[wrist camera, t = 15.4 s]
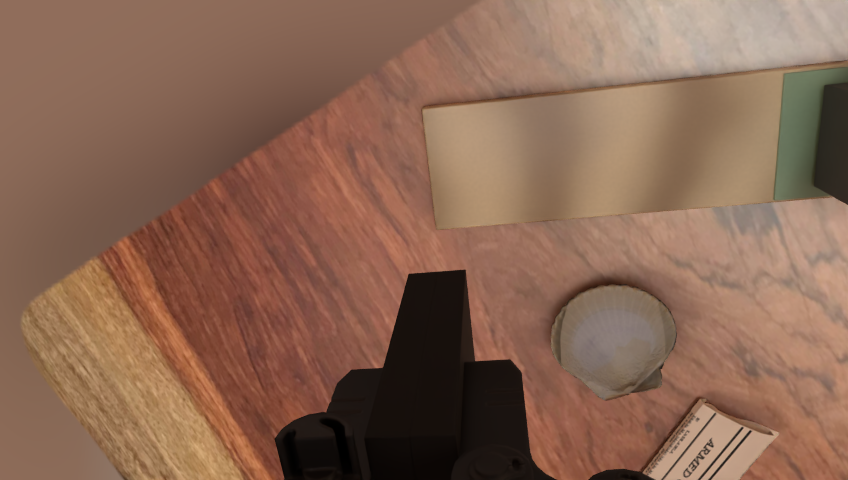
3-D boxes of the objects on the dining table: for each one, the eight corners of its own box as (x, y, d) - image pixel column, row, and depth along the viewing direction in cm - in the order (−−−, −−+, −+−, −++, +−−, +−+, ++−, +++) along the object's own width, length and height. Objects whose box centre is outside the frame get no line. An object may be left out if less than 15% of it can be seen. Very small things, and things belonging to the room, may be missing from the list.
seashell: (644, 264, 43) (536, 294, 42) (666, 272, 40) (549, 305, 39) (666, 372, 44) (561, 403, 44) (688, 388, 41) (576, 421, 41)
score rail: (437, 225, 41) (432, 247, 38) (422, 106, 39) (416, 117, 35) (920, 185, 38) (968, 204, 34) (943, 50, 35) (998, 55, 31)
